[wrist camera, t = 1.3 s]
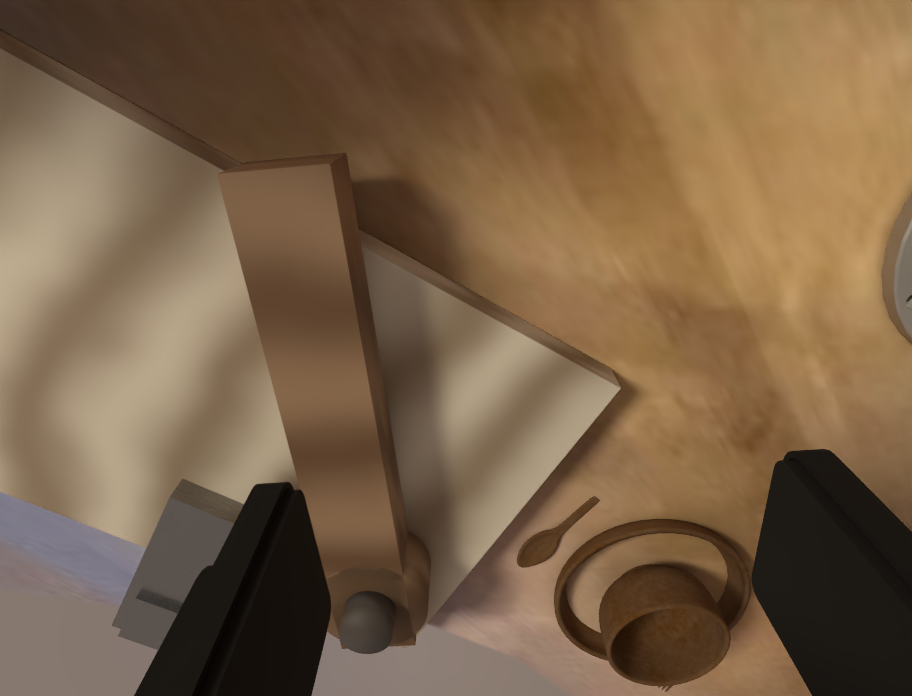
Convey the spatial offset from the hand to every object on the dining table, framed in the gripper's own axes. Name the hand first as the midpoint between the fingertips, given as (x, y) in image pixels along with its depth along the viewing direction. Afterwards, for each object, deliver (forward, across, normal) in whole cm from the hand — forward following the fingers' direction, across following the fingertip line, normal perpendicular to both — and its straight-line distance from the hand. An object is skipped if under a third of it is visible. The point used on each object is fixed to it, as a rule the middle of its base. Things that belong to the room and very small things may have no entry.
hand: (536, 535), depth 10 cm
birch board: (+18, +14, +7) cm, 24 cm away
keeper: (+18, +15, +13) cm, 27 cm away
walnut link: (+16, +7, +8) cm, 19 cm away
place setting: (+19, -6, +26) cm, 32 cm away
